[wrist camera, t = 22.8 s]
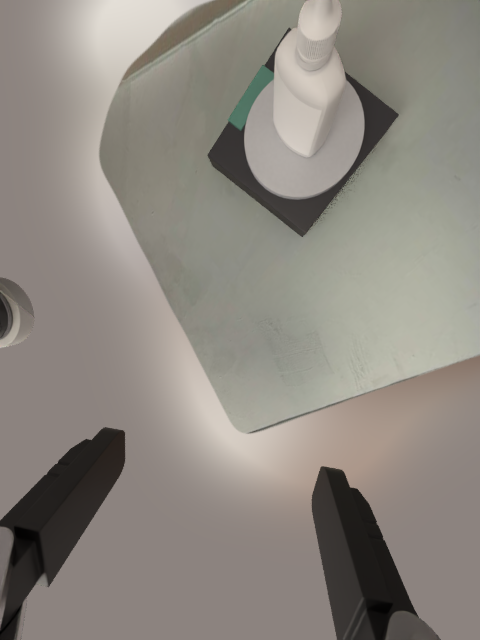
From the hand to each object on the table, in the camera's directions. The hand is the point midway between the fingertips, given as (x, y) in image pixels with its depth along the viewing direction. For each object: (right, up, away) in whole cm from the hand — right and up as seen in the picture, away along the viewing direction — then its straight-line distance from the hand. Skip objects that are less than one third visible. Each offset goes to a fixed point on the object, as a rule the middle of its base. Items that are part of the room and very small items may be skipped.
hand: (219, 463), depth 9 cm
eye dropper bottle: (+7, +25, +15) cm, 30 cm away
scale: (+7, +26, +17) cm, 32 cm away
